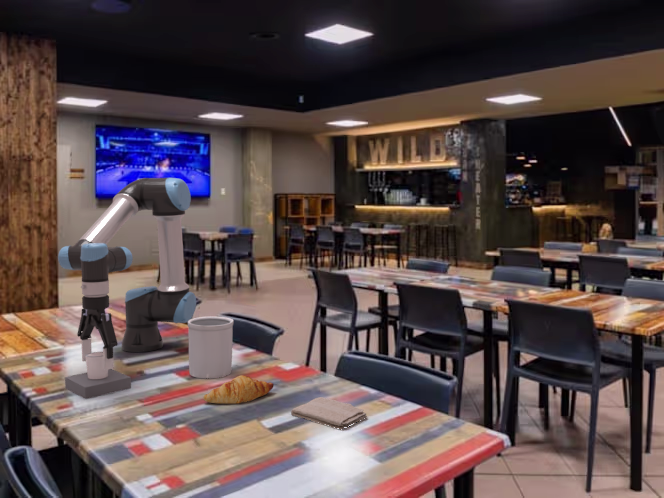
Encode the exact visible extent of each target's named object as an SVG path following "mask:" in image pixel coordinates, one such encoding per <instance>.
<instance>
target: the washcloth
mask: <svg viewBox="0 0 664 498" xmlns="http://www.w3.org/2000/svg"><path fill="white" fill-rule="evenodd" d="M290 415H291V416H293V415H294V416H293V417H296V416H297V418H299V417H301V418H300V419H302V418H305V419H304V420H306V419H307V420H306V421H309V420H311V421H310V422H312V421H315V422H314V423H316V422H319V423H318V424H320V423H321V424H320V425H322V424H326V425H329V426H331V427H330V428H332V427H335V428H339V429H342V430H344V429H343V428H344V427H348V426H349V425H351V424H353V423H356V422H358V421H360V420H362V419H364V418H366V417H368V416H367V413H366V412H364V409H363V408H362V409H361V408H359V407H355V406H354V405H352V403H349V402H348V403H347V402H341V401H339V400H335V399H330V398H327V397H323V396H321V397H320V396H319V397H316V398H314V399H311V400H310V401H308V402H306V403H304V404H301V405H298V406H297V407H294V408H292V409H291V411H290ZM366 419H367V418H366ZM364 420H365V419H364ZM362 421H363V420H362ZM360 422H361V421H360ZM358 423H359V422H358ZM356 424H357V423H356ZM326 425H325V426H326ZM329 426H328V427H329ZM335 428H334V429H335Z"/></svg>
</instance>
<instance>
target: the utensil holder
mask: <svg viewBox="0 0 664 498" xmlns="http://www.w3.org/2000/svg"><path fill="white" fill-rule="evenodd" d="M233 326H234V319H233V318H231V317H226V316H216V315H215V316H212V315H211V316H210V315H209V316H200V317H199V316H198V317H195V318H193V317H192V318H191V319H190V320H189V321H188V322H187V327H188V369H189V375H190V376H192V377H193V378H197V379H206V378H207V379H208V378H209V379H218V378H219V377H220V378H223V376H224V377H226V375H227V376H229V375H230V374H231V373H232V368H233V367H232V365H233V363H232V362H233V332H234V331H233V329H234V328H233ZM220 378H219V379H220Z"/></svg>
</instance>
